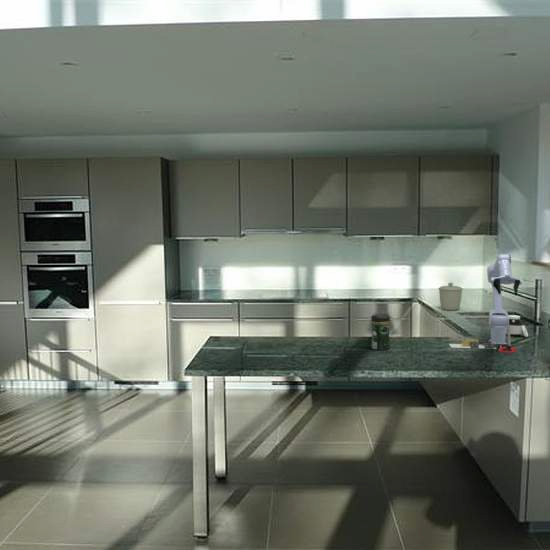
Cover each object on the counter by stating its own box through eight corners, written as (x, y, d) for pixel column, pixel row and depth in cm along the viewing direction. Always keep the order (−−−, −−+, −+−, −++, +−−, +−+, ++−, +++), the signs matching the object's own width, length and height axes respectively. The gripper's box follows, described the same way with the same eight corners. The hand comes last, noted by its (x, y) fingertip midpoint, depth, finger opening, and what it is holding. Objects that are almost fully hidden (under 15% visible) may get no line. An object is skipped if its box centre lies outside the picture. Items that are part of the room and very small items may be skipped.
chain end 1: (468, 344, 305) (468, 340, 304) (476, 344, 304) (476, 340, 304) (471, 348, 296) (471, 343, 296) (479, 348, 296) (479, 343, 296)
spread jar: (503, 334, 335) (504, 314, 334) (522, 334, 335) (523, 314, 334) (511, 338, 323) (511, 318, 322) (531, 338, 323) (531, 318, 322)
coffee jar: (383, 346, 304) (383, 312, 302) (392, 349, 297) (392, 314, 295) (368, 348, 300) (368, 313, 298) (376, 351, 293) (377, 315, 291)
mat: (449, 344, 307) (449, 343, 307) (493, 345, 303) (493, 345, 303) (451, 348, 298) (451, 347, 298) (497, 349, 294) (497, 348, 294)
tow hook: (513, 355, 284) (517, 350, 291) (513, 330, 282) (518, 326, 289) (495, 353, 289) (500, 349, 296) (495, 328, 287) (501, 324, 294)
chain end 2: (482, 345, 304) (482, 340, 303) (493, 345, 302) (493, 340, 302) (485, 348, 295) (485, 343, 295) (496, 348, 294) (496, 344, 294)
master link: (461, 345, 303) (461, 338, 302) (477, 345, 301) (477, 338, 301) (462, 346, 300) (462, 339, 299) (478, 347, 298) (478, 339, 298)
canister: (437, 311, 426) (437, 283, 424) (438, 307, 443) (438, 280, 441) (462, 311, 420) (463, 283, 419) (462, 308, 438) (463, 281, 436)
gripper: (492, 267, 287) (494, 287, 278) (522, 268, 284) (525, 289, 276) (489, 276, 292) (491, 296, 284) (519, 277, 290) (522, 298, 281)
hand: (507, 293), depth 280 cm, fingers open, 7 cm apart
